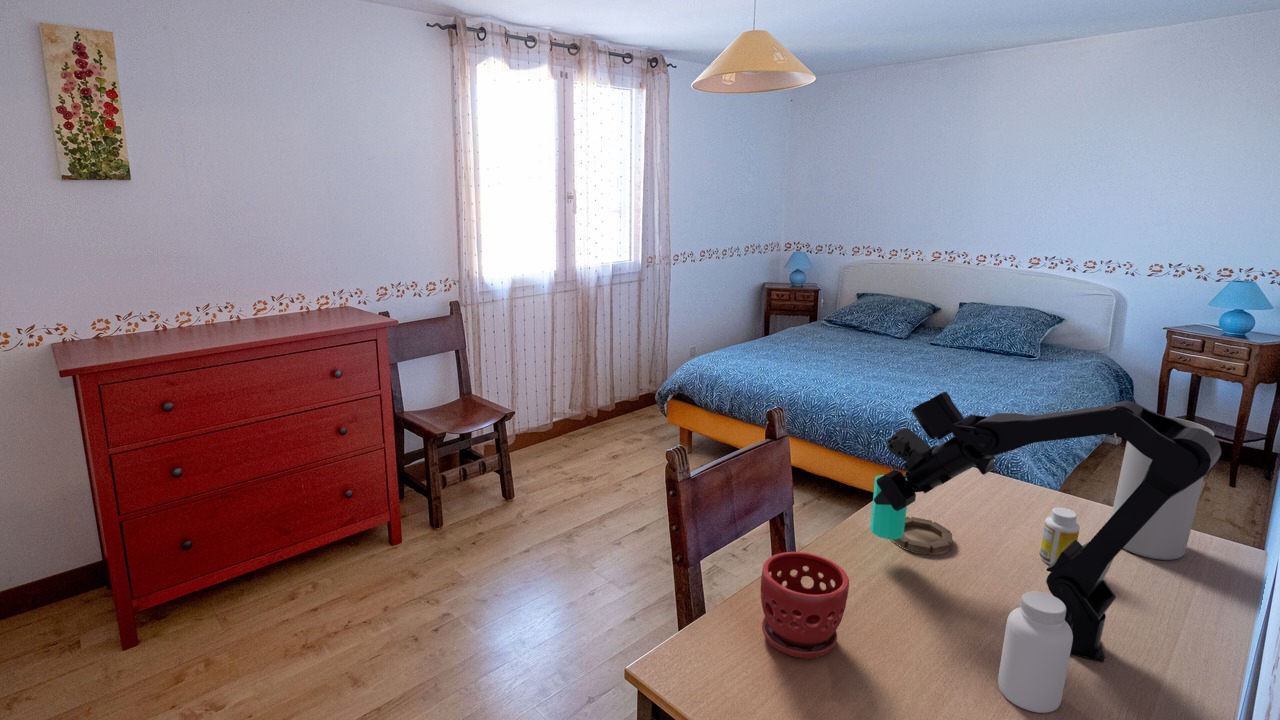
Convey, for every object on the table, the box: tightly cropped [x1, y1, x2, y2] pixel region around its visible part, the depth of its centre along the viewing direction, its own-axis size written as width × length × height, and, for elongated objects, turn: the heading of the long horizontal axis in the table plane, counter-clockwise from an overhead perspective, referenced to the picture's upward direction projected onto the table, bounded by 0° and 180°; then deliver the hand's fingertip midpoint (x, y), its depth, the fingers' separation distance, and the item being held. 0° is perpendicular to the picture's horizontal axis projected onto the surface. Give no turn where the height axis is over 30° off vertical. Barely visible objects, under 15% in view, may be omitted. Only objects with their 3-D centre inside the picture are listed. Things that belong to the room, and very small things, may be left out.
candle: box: [869, 474, 908, 540], centre depth 129 cm, size 6×6×12 cm
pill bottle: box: [997, 590, 1073, 714], centre depth 96 cm, size 8×8×15 cm
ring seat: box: [890, 516, 953, 556], centre depth 139 cm, size 12×12×2 cm
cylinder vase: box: [1110, 415, 1215, 561], centre depth 134 cm, size 12×12×25 cm
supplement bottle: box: [1039, 507, 1081, 566], centre depth 130 cm, size 6×6×10 cm
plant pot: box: [760, 551, 850, 659], centre depth 108 cm, size 13×13×12 cm
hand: (883, 497), depth 130 cm, fingers closed on candle, 5 cm apart
